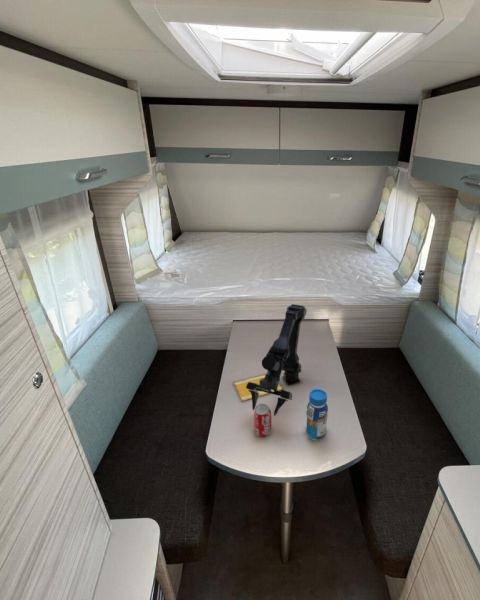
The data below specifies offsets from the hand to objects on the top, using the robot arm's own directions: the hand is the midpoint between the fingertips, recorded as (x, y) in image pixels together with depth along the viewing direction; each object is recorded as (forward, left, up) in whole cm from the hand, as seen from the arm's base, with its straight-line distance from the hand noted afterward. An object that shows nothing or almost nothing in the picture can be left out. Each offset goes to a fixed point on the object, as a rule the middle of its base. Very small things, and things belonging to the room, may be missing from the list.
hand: (263, 412), depth 131 cm
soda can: (+1, +1, -9) cm, 9 cm away
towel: (-7, -27, -9) cm, 29 cm away
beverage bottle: (-19, +10, -9) cm, 23 cm away
